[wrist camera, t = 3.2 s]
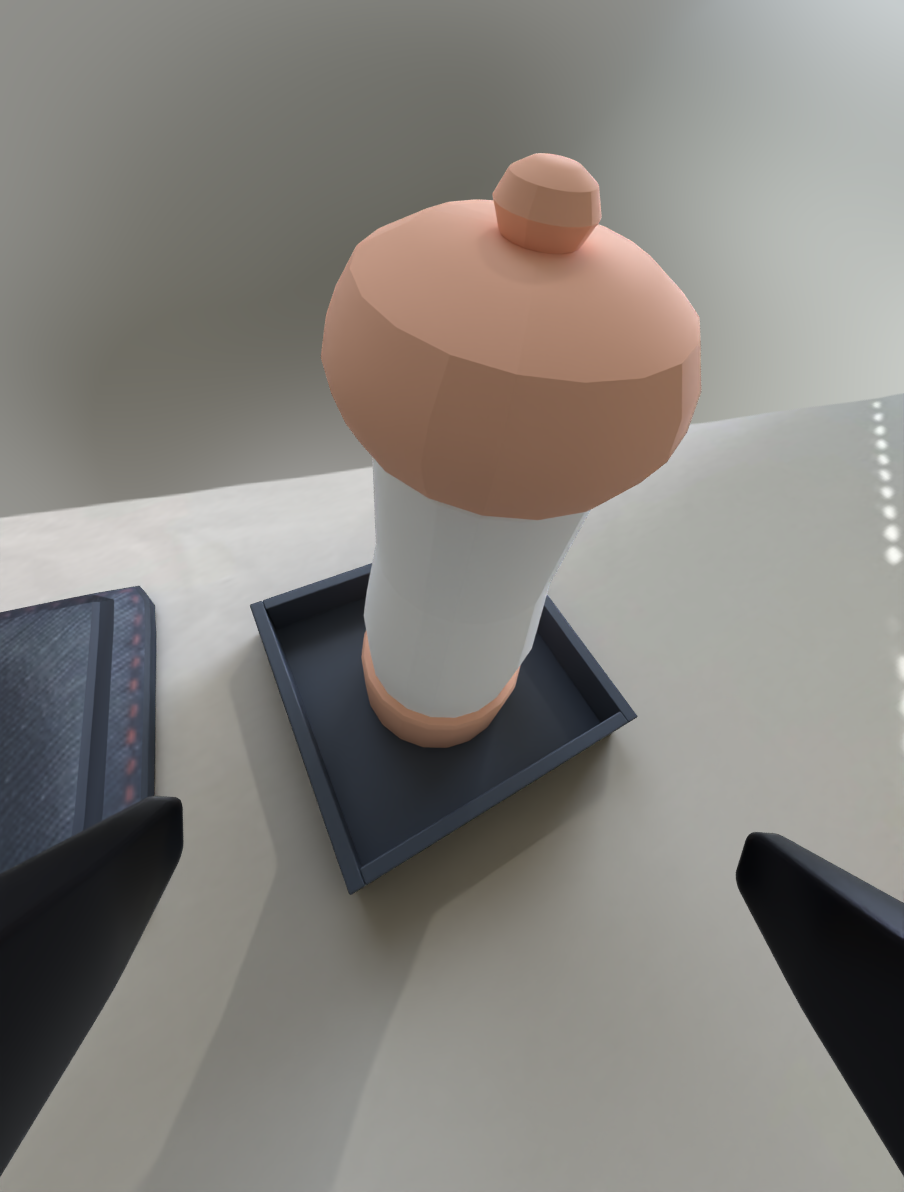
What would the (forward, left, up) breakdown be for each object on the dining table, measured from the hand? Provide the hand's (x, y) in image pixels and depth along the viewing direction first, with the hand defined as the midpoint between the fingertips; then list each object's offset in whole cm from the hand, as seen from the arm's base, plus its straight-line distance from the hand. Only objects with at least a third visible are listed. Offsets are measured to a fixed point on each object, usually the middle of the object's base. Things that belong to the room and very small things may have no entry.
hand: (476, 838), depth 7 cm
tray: (+4, +7, -14) cm, 16 cm away
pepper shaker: (+4, +7, -13) cm, 15 cm away
